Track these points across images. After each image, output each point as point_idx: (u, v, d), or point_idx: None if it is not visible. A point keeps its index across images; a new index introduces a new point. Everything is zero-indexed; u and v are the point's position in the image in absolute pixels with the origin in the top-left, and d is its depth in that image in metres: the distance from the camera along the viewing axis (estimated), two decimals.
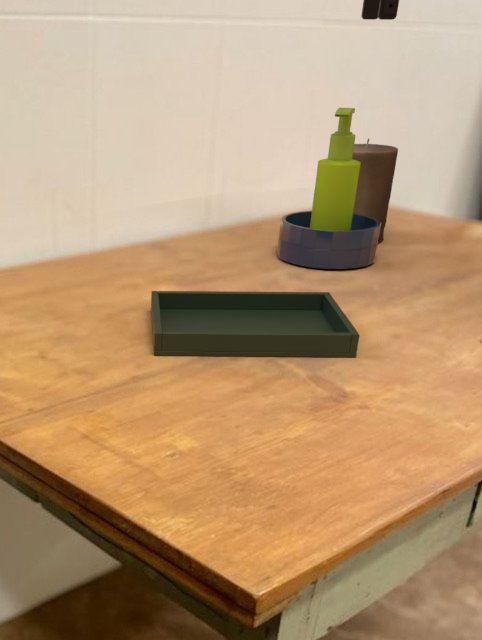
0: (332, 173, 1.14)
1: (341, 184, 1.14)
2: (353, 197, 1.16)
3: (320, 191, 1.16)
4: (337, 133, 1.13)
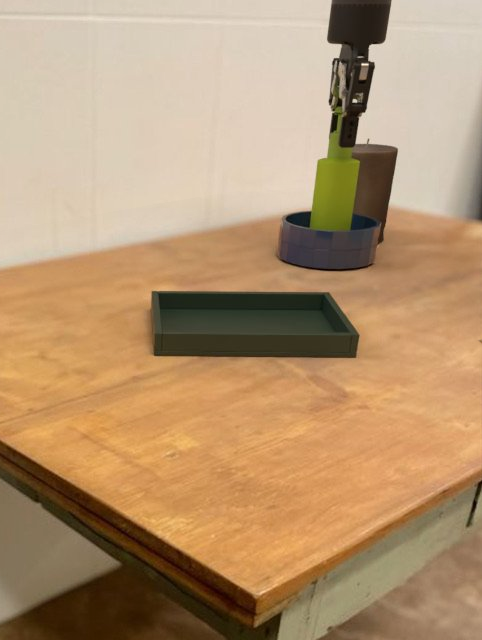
0: (331, 171, 1.14)
1: (340, 182, 1.15)
2: (353, 195, 1.16)
3: (319, 190, 1.16)
4: (336, 132, 1.13)
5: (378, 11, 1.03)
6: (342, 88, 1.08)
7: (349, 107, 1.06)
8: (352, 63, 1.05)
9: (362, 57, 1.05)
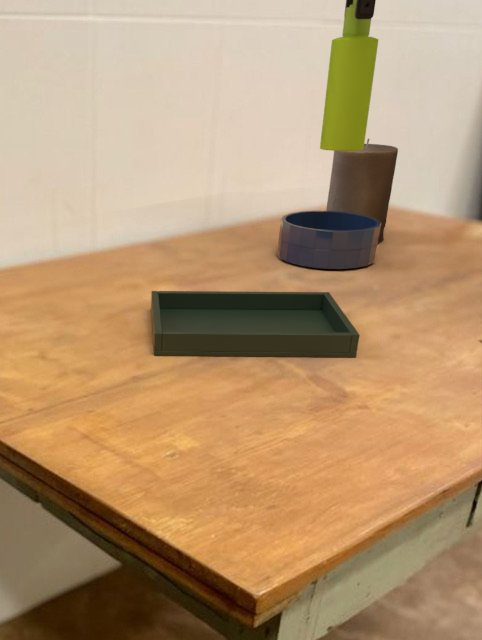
0: (347, 49, 1.05)
1: (357, 61, 1.05)
2: (370, 78, 1.07)
3: (334, 72, 1.07)
4: (352, 5, 1.04)
5: None
6: None
7: None
8: None
9: None
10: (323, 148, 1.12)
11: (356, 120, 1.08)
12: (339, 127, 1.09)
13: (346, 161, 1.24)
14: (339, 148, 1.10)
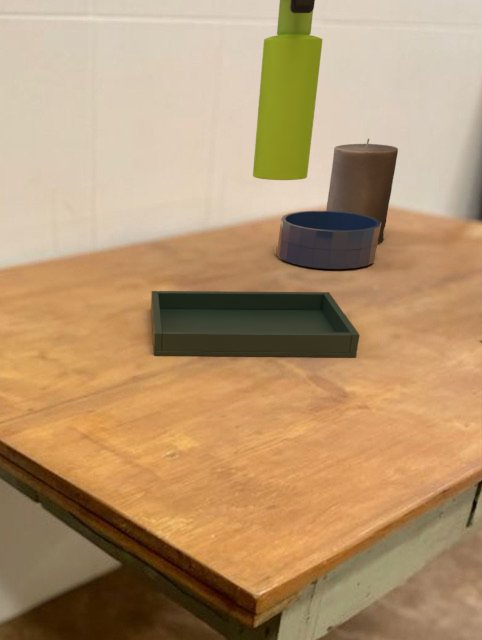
0: (281, 52, 0.81)
1: (294, 67, 0.82)
2: (313, 88, 0.84)
3: (267, 81, 0.84)
4: None
5: None
6: None
7: None
8: None
9: None
10: (256, 176, 0.89)
11: (296, 142, 0.85)
12: (274, 151, 0.86)
13: (346, 161, 1.24)
14: (275, 177, 0.87)
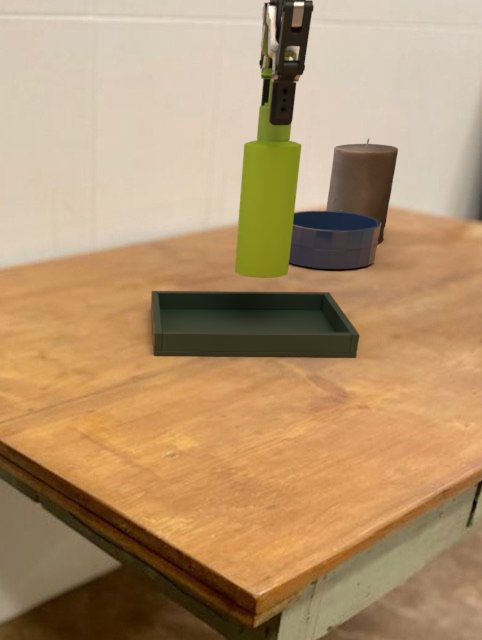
0: (261, 158, 0.83)
1: (274, 173, 0.84)
2: (293, 192, 0.85)
3: (247, 184, 0.85)
4: (267, 104, 0.82)
5: None
6: (271, 41, 0.77)
7: (280, 67, 0.75)
8: (283, 4, 0.74)
9: None
10: (238, 272, 0.90)
11: (276, 242, 0.87)
12: (255, 250, 0.88)
13: (346, 161, 1.24)
14: (256, 274, 0.89)
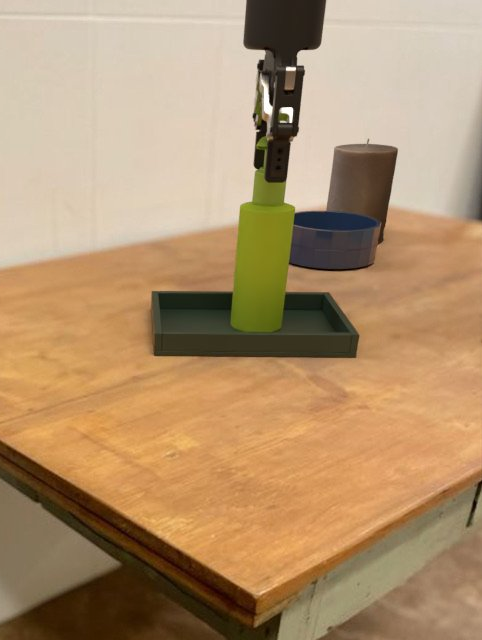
0: (256, 222, 0.86)
1: (268, 237, 0.86)
2: (286, 253, 0.88)
3: (243, 245, 0.88)
4: (262, 170, 0.85)
5: (308, 5, 0.75)
6: (265, 104, 0.79)
7: (274, 129, 0.77)
8: (275, 76, 0.77)
9: None
10: (233, 326, 0.93)
11: (270, 300, 0.90)
12: (250, 307, 0.91)
13: (346, 161, 1.24)
14: (251, 330, 0.92)
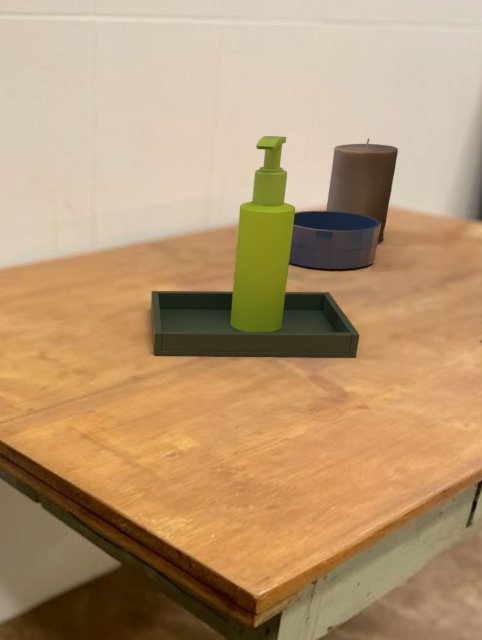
0: (256, 222, 0.86)
1: (268, 237, 0.86)
2: (286, 253, 0.88)
3: (243, 245, 0.88)
4: (263, 170, 0.85)
5: None
6: None
7: None
8: None
9: None
10: (233, 326, 0.93)
11: (270, 300, 0.90)
12: (250, 307, 0.91)
13: (346, 161, 1.24)
14: (251, 330, 0.92)
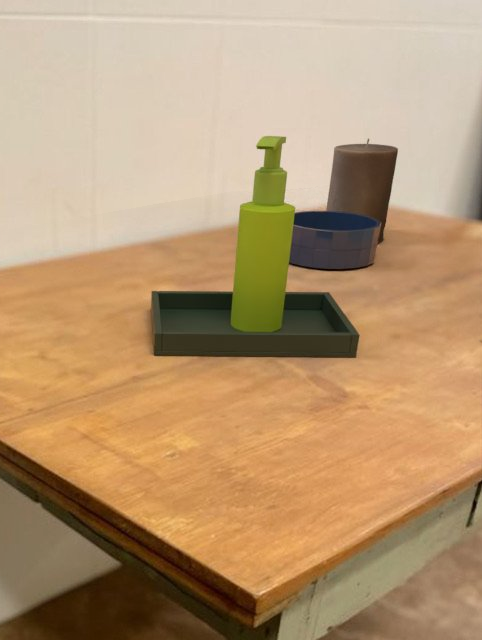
0: (256, 222, 0.86)
1: (268, 237, 0.86)
2: (286, 253, 0.88)
3: (243, 245, 0.88)
4: (263, 170, 0.85)
5: None
6: None
7: None
8: None
9: None
10: (233, 326, 0.93)
11: (270, 300, 0.90)
12: (250, 307, 0.91)
13: (346, 161, 1.24)
14: (251, 330, 0.92)
